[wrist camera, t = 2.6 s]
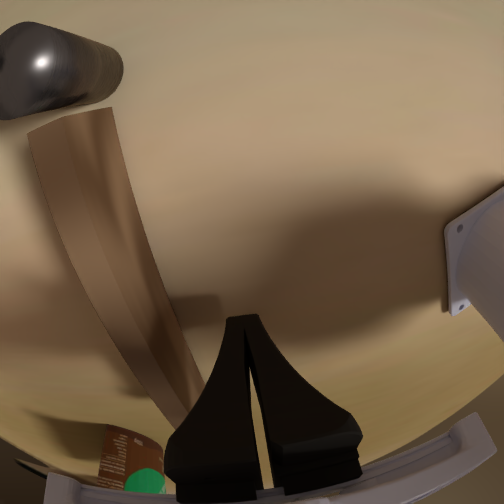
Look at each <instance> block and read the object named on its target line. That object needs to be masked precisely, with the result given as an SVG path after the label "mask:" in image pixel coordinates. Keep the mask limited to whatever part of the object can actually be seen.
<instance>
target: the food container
mask: <svg viewBox="0 0 504 504" xmlns="http://www.w3.org/2000/svg"><path fill="white" fill-rule="evenodd" d="M97 487H101V488H107V489H114V490H122V491H130V492H140V493H154V494H166V489H165V476H164V460H163V449H162V447H161V446H160V445H159V444H158V443H156V442H155V441H153V440H152V439H150V438H148V437H146V436H144V435H142V434H139V433H136V432H134V431H131V430H128V429H125V428H121V427H118V426H113V425H109V424H107V428H106V433H105V438H104V443H103V449H102V455H101V461H100V467H99V474H98V481H97Z"/></svg>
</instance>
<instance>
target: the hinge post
mask: <svg viewBox="0 0 504 504" xmlns="http://www.w3.org/2000/svg"><path fill="white" fill-rule="evenodd" d="M122 76H123V61H122V58H121V56H120V55H119V53H118V52H117V51H116V50H114V49H113V48H111V47H109V46H106V45H104V44H101V43H98V42H96V41H93V40H90V39H87V38H84V37H81V36H79V35H76V34H73V33H70V32H66V31H63V30H60V29H57V28H53V27H50V26H47V25H43V24H39V23H36V22H22V23H18V24H16V25H14V26H12V27H10V28H9V29H7V30H6V31H5V32H4V33H2V34H1V35H0V120H11V119H15V118H18V117H22V116H27V115H31V114H35V113H40V112H44V111H49V110H54V109H59V108H65V107H71V106H77V105H83V104H90V103H96V102H100V101H102V100H104V99H106V98H108V97H109V96H110V95H111V94H113V92H114V91H115V90H116V89H117V87H118V86H119V84H120V82H121V79H122Z"/></svg>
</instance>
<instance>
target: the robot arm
mask: <svg viewBox="0 0 504 504" xmlns="http://www.w3.org/2000/svg"><path fill="white" fill-rule="evenodd" d="M444 238H445V247H446V258H447V272H448V295H449V313H450V314H451V316H455V315H457V314H458V313H460V312H461V311H462V310H464V309H465V308H467V307H468V306H469V305H471V304H472V305H473V306H474V307H475V308H476V310H477V311H478V312H479V313H480V314H481V315H482V316H483V318H484V319H485V320H486V321H487V322H488V323H489V325H490V326H491V327H492V328H493V329H494V331H495V332H496V333H497V334H498V336H499V337H500V338H501V339H502V341H503V342H504V186H503V187H502V188H500V189H499V190H498V191H496V192H495V193H493V194H492V195H490V196H489V197H487V198H486V199H484V200H483V201H482V202H480V203H479V204H477V205H476V206H474V207H473V208H471V209H470V210H468V211H467V212H465V213H463V214H462V215H460V216H459V217H457V218H456V219H454V220H453V221H451V222H450V223H448V224H447V225H446V227H445V230H444ZM249 367H250V369H249ZM250 371H251V374H252V378H253V382H254V386H255V390H256V393H257V397H258V401H259V405H260V409H261V413H262V419H263V425H264V431H265V437H266V443H267V449H268V455H269V461H270V467H271V473H272V478H273V484H274V488H271V489H264V487H263V481H262V475H261V469H260V463H259V457H258V451H257V445H256V438H255V432H254V425H253V419H252V410H251V391H250ZM362 438H363V435H362V431H361V429H360V427H359V425H358V424H357V422H356V420H355V419H354V418H353V416H352V415H351V413H349V412H348V411H346V410H344V409H343V408H341V407H339V406H338V405H336V404H335V403H333V402H332V401H331V400H329V399H328V398H326V397H325V396H324V395H322V394H321V393H320V392H319V391H318V390H316V389H315V388H314V387H313V386H311V385H310V384H309V383H308V382H307V381H306V380H305V379H304V378H303V377H302V376H301V375H300V374H299V373H298V372H297V371H296V370H295V369H294V368H293V367H292V366H291V365H290V364H289V362H288V361H287V360H286V359H285V357H284V356H283V355H282V354H281V352H280V351H279V350H278V348H277V347H276V345H275V344H274V343H273V341H272V340H271V338H270V337H269V335H268V333H267V331H266V330H265V328H264V326H263V324H262V322H261V320H260V317H259V315H258V314H249V315H242V316H234V317H228V318H227V319H226V327H225V333H224V337H223V341H222V345H221V348H220V351H219V355H218V358H217V360H216V363H215V365H214V368H213V371H212V373H211V375H210V377H209V380H208V382H207V384H206V386H205V388H204V389H203V391H202V393H201V395H200V397H199V398H198V400H197V402H196V403H195V405H194V406H193V408H192V409H191V411H190V412H189V414H188V415H187V417H186V418H185V419H184V421H183V422H182V423H181V425H180V426H179V427H178V428H177V429H176V431H175V432H174V433H173V434H172V435H171V436H170V438H169V439H168V443H167V446H166V450H165V455H164V473H165V475H166V476H167V477H168V478H170V479H171V480H172V481H173V482H174V483H176V494H154V493H140V492H130V491H122V490H114V489H107V488H101V487H95V486H89V485H84V484H81V483H80V482H78V481H77V480H75V479H73V478H70V477H67V476H63V475H59V474H55V473H51V472H49V473H48V478H47V484H46V490H45V497H44V504H413V503H415V502H417V501H419V500H421V499H423V498H425V497H427V496H429V495H431V494H433V493H435V492H436V491H438V490H440V489H442V488H444V487H446V486H447V485H449V484H451V483H452V482H454V481H456V480H458V479H459V478H461V477H463V476H464V475H466V474H467V473H469V472H471V471H472V470H473V469H475V468H476V467H478V466H479V465H480V464H481V463H483V462H484V461H485V460H487V459H488V458H489V457H491V456H492V455H493V454H495V453H496V452H497V449H496V447H495V445H494V443H493V441H492V439H491V437H490V435H489V433H488V432H487V430H486V428H485V426H484V425H483V423H482V421H481V419H480V417H479V415H478V414H477V412H474V413H472V414H471V415H469V416H467V417H465V418H464V419H462V420H460V421H458V422H457V423H456V424H455V425H453V426H452V427H451V428H450V430H449V431H448V432H446V433H444V434H443V435H440V436H439V437H436V438H434V439H432V440H430V441H428V442H426V443H424V444H422V445H419V446H417V447H415V448H412V449H410V450H408V451H405V452H403V453H401V454H398V455H395V456H393V457H390V458H387V459H385V460H382V461H379V462H376V463H374V464H371V465H368V466H365V467H360V464H359V461H358V458H359V454H358V451H357V447H358V445H359V444H360V442H361V440H362ZM338 491H340V493H339V494H340V495H337V496H333V497H327V498H326V497H319V496H323V495H327V494H331V493H335V492H338ZM315 497H319V498H315ZM310 498H312V499H310ZM290 502H291V503H290Z"/></svg>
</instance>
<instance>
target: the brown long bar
mask: <svg viewBox="0 0 504 504" xmlns="http://www.w3.org/2000/svg"><path fill="white" fill-rule="evenodd" d="M27 136H28V140H29V144H30V148H31V151H32V155H33V159H34V162H35V166H36V169H37V173H38V176H39V179H40V182H41V185H42V188H43V191H44V194H45V197H46V200H47V203H48V206H49V209H50V211H51V214H52V217H53V219H54V222H55V225H56V227H57V230H58V232H59V235H60V237H61V239H62V242H63V244H64V247H65V249H66V251H67V253H68V256H69V258H70V260H71V262H72V265H73V267H74V269H75V271H76V273H77V275H78V277H79V279H80V281H81V283H82V286H83V288H84V290H85V291H86V293H87V295H88V297H89V299H90V301H91V303H92V305H93V307H94V309H95V310H96V312H97V314H98V316H99V318H100V320H101V321H102V323H103V325H104V327H105V328H106V330H107V332H108V333H109V335H110V337H111V339H112V340H113V342H114V343H115V345H116V347H117V348H118V350H119V352H120V353H121V355H122V356H123V358H124V359H125V361H126V363H127V364H128V366H129V367H130V369H131V370H132V372H133V373H134V375H135V376H136V378H137V379H138V381H139V382H140V383H141V385H142V386H143V388H144V389H145V390H146V392H147V393H148V395H149V396H150V397H151V399H152V400H153V401H154V403H155V404H156V406H157V407H158V408H159V409H160V411H161V412H162V413H163V415H164V416H165V417H166V419H167V420H168V421H169V422H170V424H171V425H172V426H173V427H174V429H175V430H176V429H177V428H178V427H179V426H180V425H181V423H182V422H183V421H184V419H185V418H186V417H187V415H188V414H189V412H190V411H191V409H192V408H193V406H194V405H195V403H196V402H197V400H198V398H199V397H200V395H201V393H202V391H203V389H204V388H205V386H206V385H205V383H204V381H203V379H202V377H201V374H200V372H199V370H198V368H197V366H196V363H195V361H194V359H193V357H192V354H191V352H190V350H189V348H188V345H187V343H186V341H185V338H184V336H183V333H182V331H181V329H180V326H179V324H178V321H177V319H176V316H175V314H174V311H173V309H172V306H171V304H170V301H169V299H168V296H167V293H166V291H165V288H164V285H163V283H162V280H161V277H160V275H159V272H158V269H157V266H156V263H155V260H154V258H153V255H152V252H151V249H150V246H149V243H148V240H147V237H146V234H145V231H144V228H143V224H142V221H141V218H140V215H139V212H138V208H137V205H136V202H135V198H134V195H133V191H132V188H131V184H130V181H129V177H128V173H127V170H126V166H125V162H124V158H123V154H122V150H121V146H120V142H119V138H118V134H117V129H116V125H115V120H114V116H113V111H112V107H108V108H103V109H97V110H92V111H87V112H83V113H78V114H73V115H69V116H65V117H61V118H59V119H57V120H54V121H52V122H50V123H48V124H46V125H43V126H41V127H39V128H37V129H35V130H33V131H31V132H29V133H27Z"/></svg>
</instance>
